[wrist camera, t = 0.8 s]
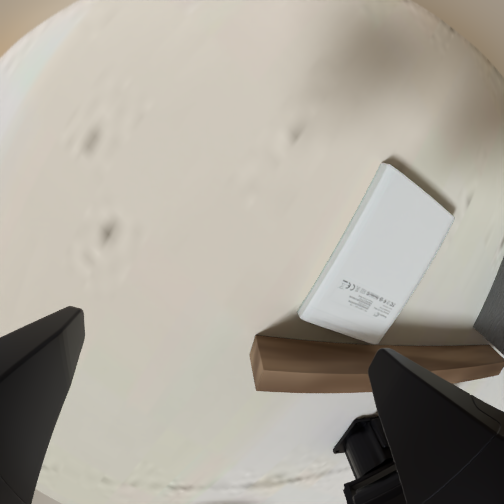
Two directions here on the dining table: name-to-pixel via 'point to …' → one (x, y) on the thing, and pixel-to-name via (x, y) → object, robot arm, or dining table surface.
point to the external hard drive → (378, 258)
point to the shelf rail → (356, 364)
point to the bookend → (493, 313)
